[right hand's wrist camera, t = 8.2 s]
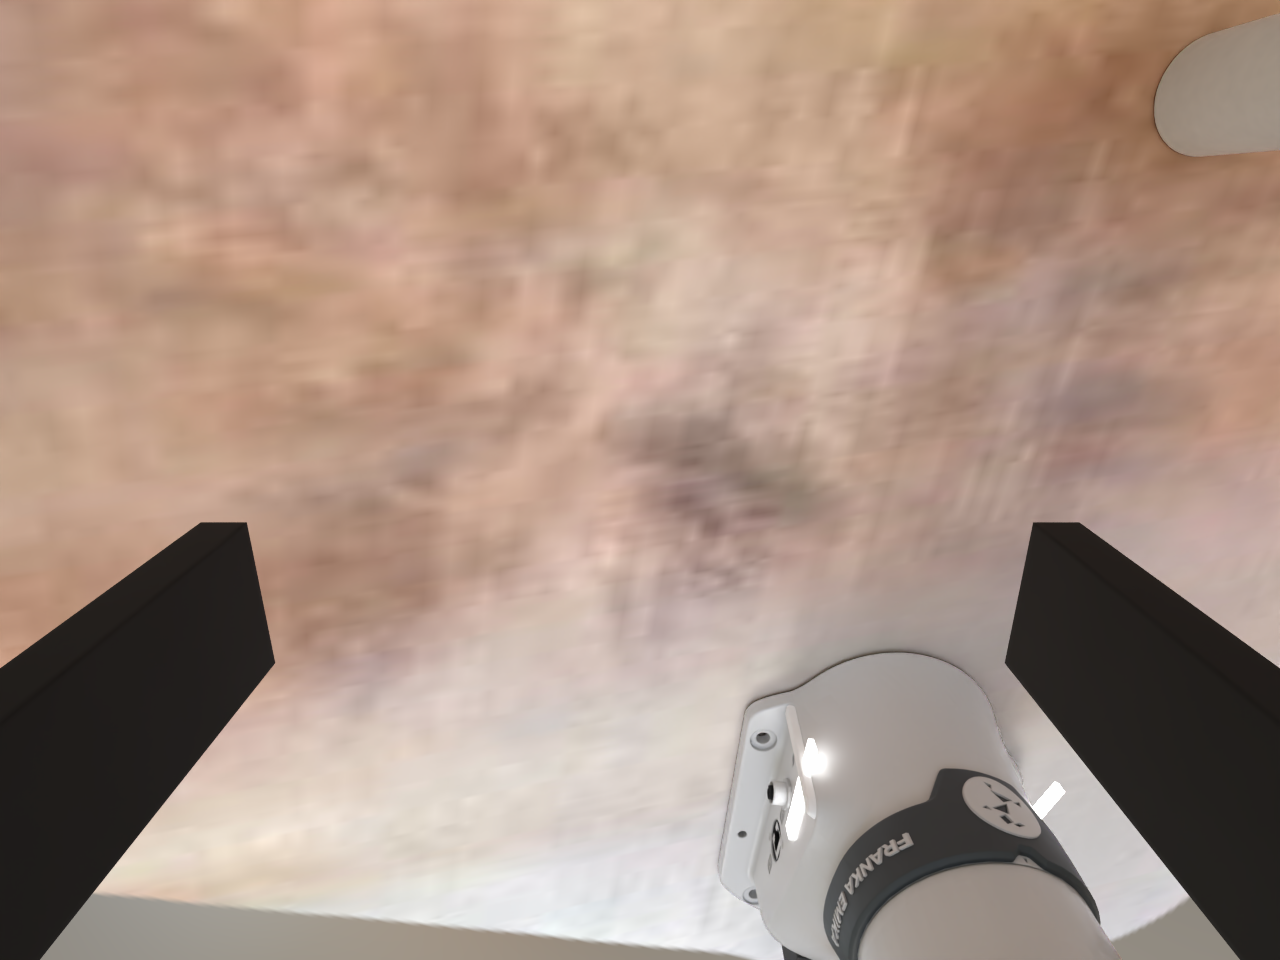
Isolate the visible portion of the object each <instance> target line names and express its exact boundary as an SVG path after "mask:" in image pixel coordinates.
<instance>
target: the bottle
mask: <svg viewBox="0 0 1280 960" xmlns="http://www.w3.org/2000/svg"><path fill="white" fill-rule="evenodd" d="M1154 117H1155V123H1156V127H1157V130H1158V132H1159V134H1160V136H1161V138H1162V139H1163V140H1164V142H1165V143H1166V144H1167V145H1168V146H1169V147H1170V148H1172V149H1173V150H1174V151H1176V152H1178V153H1180V154H1183V155H1186V156H1192V157H1204V156H1216V155H1228V154H1240V153H1252V152H1265V151H1277V150H1280V13H1278V14H1274V15H1271V16H1268V17H1264V18H1261V19H1257V20H1254V21H1251V22H1247V23H1244V24H1241V25H1237V26H1234V27H1231V28H1227V29H1224V30H1220V31H1217V32H1214V33H1210V34H1208V35H1205V36H1203V37H1201V38H1199V39H1197V40H1195V41H1194V42H1192V43H1191V44H1189V45H1188V46H1187V47H1186V48H1184V49H1183V50H1182V51H1181V52H1180V53H1179V54H1178V55H1177V56H1176V57H1175V59H1174V60H1173V61H1172V62H1171V64H1170V65H1169V66H1168V68H1167V69H1166V71H1165V73H1164V75H1163V77H1162V79H1161V81H1160V83H1159V86H1158V89H1157V92H1156V97H1155V103H1154Z"/></svg>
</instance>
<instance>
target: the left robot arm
mask: <svg viewBox="0 0 1280 960" xmlns="http://www.w3.org/2000/svg"><path fill="white" fill-rule="evenodd" d="M760 733H767V734H766V735H764V736H758V734H760ZM1022 785H1023V778H1022V775H1021V773H1020V771H1019V769H1018V767H1017V765H1016V763H1015V761H1014V760H1013V759H1012V757H1011V756H1010V755H1009V753H1008V752H1007V751H1006V748H1005V746H1004V743H1003V741H1002V738H1001V735H1000V732H999V729H998V726H997V723H996V719H995V716H994V712H993V709H992V706H991V704H990V702H989V700H988V698H987V696H986V695H985V693H984V692H983V690H982V689H981V688H980V686H979V685H978V684H977V683H976V682H975V681H974V680H973V679H972V678H971V677H969V676H968V675H967V674H966V673H964V672H963V671H961V670H960V669H958V668H957V667H955V666H953V665H951V664H949V663H947V662H944V661H942V660H939V659H936V658H933V657H929V656H925V655H920V654H914V653H899V652H894V653H879V654H873V655H868V656H863V657H859V658H856V659H852V660H849V661H847V662H844V663H841V664H839V665H837V666H835V667H833V668H831V669H829V670H827V671H825V672H823V673H822V674H820V675H818V676H817V677H815V678H814V679H812V680H811V681H809V682H808V683H806V684H805V685H803V686H801V687H799V688H797V689H795V690H793V691H790V692H785V693H781V694H777V695H773V696H769V697H766V698H763V699H760V700H758V701H755V702H754V703H752V704H751V705H750V706H749V707H748V708H747V710H746V712H745V715H744V720H743V725H742V731H741V737H740V742H739V748H738V754H737V759H736V765H735V771H734V776H733V782H732V788H731V793H730V799H729V805H728V811H727V816H726V822H725V828H724V833H723V839H722V845H721V850H720V856H719V862H718V874H719V878H720V882H721V884H722V885H723V886H724V887H725V888H726V889H727V890H728V891H729V892H730V893H732V894H733V895H734V896H736V897H737V898H739V899H740V900H742V901H743V902H745V903H747V904H749V905H751V906H753V907H755V908H757V909H760V912H761V916H762V920H763V922H764V925H765V927H766V928H767V930H768V932H769V933H770V934H771V935H772V936H773V937H774V939H775V940H777V941H778V942H779V943H780V944H781V945H782V949H783V955H784V960H1122V959H1121V957H1120V956H1119V954H1118V952H1117V951H1116V949H1115V948H1114V946H1113V945H1112V943H1111V941H1110V940H1109V938H1108V937H1107V935H1106V934H1105V932H1104V931H1103V929H1102V927H1101V926H1100V917H1099V911H1098V908H1097V906H1096V903H1095V900H1094V899H1093V897H1092V895H1091V893H1090V892H1089V890H1088V888H1087V887H1086V885H1085V883H1084V882H1083V880H1082V878H1081V876H1080V875H1079V873H1078V872H1077V870H1076V868H1075V867H1074V865H1073V863H1072V862H1071V860H1070V859H1069V857H1068V855H1067V854H1066V852H1065V851H1064V849H1063V848H1062V846H1061V845H1060V843H1059V842H1058V840H1057V838H1056V837H1055V836H1054V834H1053V833H1052V832H1051V830H1050V829H1049V828H1048V827H1047V825H1046V824H1045V823H1044V822H1043V820H1042V818H1043V817H1044V816H1045V815H1046V813H1047V812H1048V811H1049V810H1050V809H1051V808H1052V807H1053V805H1054V804H1055V803H1056V802H1057V801H1058V800H1059V798H1060V797H1061V796H1062V795H1063V794H1064V793H1065V791H1064V790H1063V788H1062V787H1061V786H1060V784H1059V783H1057V782H1054V783H1053V784H1052V785H1051V786H1050V788H1049V789H1048V790H1047V791H1046V792H1045V793H1044V795H1043V796H1042V797H1041V798H1040V799H1039V800H1038V802H1037V803H1036V804H1035V805H1034V806H1033V807H1032V805H1031V803H1030V801H1029V799H1028V797H1027V795H1026V793H1025V790H1024V788H1023V786H1022Z"/></svg>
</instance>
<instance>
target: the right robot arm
mask: <svg viewBox="0 0 1280 960" xmlns="http://www.w3.org/2000/svg"><path fill="white" fill-rule="evenodd" d="M274 664H275V660H274V655H273V650H272V645H271V640H270V635H269V630H268V625H267V620H266V615H265V610H264V605H263V601H262V596H261V591H260V586H259V581H258V576H257V571H256V566H255V561H254V556H253V551H252V546H251V541H250V536H249V532H248V527H247V522H245V523H242V522H231V523H230V522H229V523H227V522H214V523H212V522H201V523H199V524H198V525H197V526H195V527H194V528H193V529H191V530H190V531H188V532H187V533H186V534H184V535H183V536H182V537H180V538H179V539H177V540H176V541H175V542H173V543H172V544H171V545H169V546H168V547H166V548H165V549H164V550H162V551H161V552H160V553H158V554H157V555H155V556H154V557H153V558H151V559H150V560H149V561H147V562H146V563H144V564H143V565H142V566H140V567H139V568H138V569H136V570H135V571H133V572H132V573H131V574H129V575H128V576H127V577H125V578H124V579H122V580H121V581H120V582H118V583H117V584H116V585H114V586H113V587H111V588H110V589H109V590H107V591H106V592H105V593H103V594H102V595H100V596H99V597H98V598H96V599H95V600H94V601H92V602H91V603H89V604H88V605H87V606H85V607H84V608H83V609H81V610H80V611H78V612H77V613H76V614H74V615H73V616H72V617H70V618H69V619H67V620H66V621H65V622H63V623H62V624H61V625H59V626H58V627H56V628H55V629H54V630H52V631H51V632H50V633H48V634H47V635H45V636H44V637H43V638H41V639H40V640H39V641H37V642H36V643H34V644H33V645H32V646H30V647H29V648H28V649H26V650H25V651H23V652H22V653H21V654H19V655H18V656H17V657H15V658H14V659H12V660H11V661H10V662H8V663H7V664H6V665H4V666H3V667H1V668H0V960H40V959H41V958H42V956H43V955H44V954H45V953H46V951H47V950H48V949H49V947H50V946H51V945H52V944H53V942H54V941H55V940H56V939H57V937H58V936H59V935H60V934H61V932H62V931H63V930H64V929H65V927H66V926H67V925H68V924H69V922H70V921H71V920H72V919H73V917H74V916H75V915H76V913H77V912H78V911H79V910H80V908H81V907H82V906H83V905H84V903H85V902H86V901H87V900H88V898H89V897H90V896H91V895H92V893H93V892H94V891H95V890H96V888H97V887H98V886H99V884H100V883H101V882H102V881H103V879H104V878H105V877H106V876H107V874H108V873H109V872H110V871H111V869H112V868H113V867H114V866H115V864H116V863H117V862H118V861H119V859H120V858H121V857H122V855H123V854H124V853H125V852H126V850H127V849H128V848H129V847H130V845H131V844H132V843H133V842H134V840H135V839H136V838H137V837H138V835H139V834H140V833H141V832H142V830H143V829H144V828H145V826H146V825H147V824H148V823H149V821H150V820H151V819H152V818H153V816H154V815H155V814H156V813H157V811H158V810H159V809H160V808H161V806H162V805H163V804H164V803H165V801H166V800H167V799H168V797H169V796H170V795H171V794H172V792H173V791H174V790H175V789H176V787H177V786H178V785H179V784H180V782H181V781H182V780H183V779H184V777H185V776H186V775H187V774H188V772H189V771H190V770H191V768H192V767H193V766H194V765H195V763H196V762H197V761H198V760H199V758H200V757H201V756H202V755H203V753H204V752H205V751H206V750H207V748H208V747H209V746H210V745H211V743H212V742H213V741H214V739H215V738H216V737H217V736H218V734H219V733H220V732H221V731H222V729H223V728H224V727H225V726H226V724H227V723H228V722H229V721H230V719H231V718H232V717H233V716H234V714H235V713H236V712H237V710H238V709H239V708H240V707H241V705H242V704H243V703H244V702H245V700H246V699H247V698H248V697H249V695H250V694H251V693H252V692H253V690H254V689H255V688H256V687H257V685H258V684H259V683H260V681H261V680H262V679H263V678H264V676H265V675H266V674H267V673H268V671H269V670H270V669H271V668H272V666H273V665H274ZM1005 664H1006V665H1007V666H1008V668H1009V669H1010V670H1011V671H1012V673H1013V674H1014V675H1015V676H1016V678H1017V679H1018V680H1019V681H1020V683H1021V684H1022V685H1023V687H1024V688H1025V689H1026V690H1027V692H1028V693H1029V694H1030V695H1031V697H1032V698H1033V699H1034V700H1035V702H1036V703H1037V704H1038V705H1039V707H1040V708H1041V709H1042V710H1043V712H1044V713H1045V714H1046V716H1047V717H1048V718H1049V719H1050V721H1051V722H1052V723H1053V724H1054V726H1055V727H1056V728H1057V729H1058V731H1059V732H1060V733H1061V734H1062V736H1063V737H1064V738H1065V739H1066V741H1067V742H1068V743H1069V745H1070V746H1071V747H1072V748H1073V750H1074V751H1075V752H1076V753H1077V755H1078V756H1079V757H1080V758H1081V760H1082V761H1083V762H1084V763H1085V765H1086V766H1087V767H1088V768H1089V770H1090V771H1091V772H1092V774H1093V775H1094V776H1095V777H1096V779H1097V780H1098V781H1099V782H1100V784H1101V785H1102V786H1103V787H1104V789H1105V790H1106V791H1107V792H1108V794H1109V795H1110V796H1111V797H1112V799H1113V800H1114V801H1115V803H1116V804H1117V805H1118V806H1119V808H1120V809H1121V810H1122V811H1123V813H1124V814H1125V815H1126V816H1127V818H1128V819H1129V820H1130V821H1131V823H1132V824H1133V825H1134V826H1135V828H1136V829H1137V830H1138V832H1139V833H1140V834H1141V835H1142V837H1143V838H1144V839H1145V840H1146V842H1147V843H1148V844H1149V845H1150V847H1151V848H1152V849H1153V850H1154V852H1155V853H1156V854H1157V855H1158V857H1159V858H1160V859H1161V861H1162V862H1163V863H1164V864H1165V866H1166V867H1167V868H1168V869H1169V871H1170V872H1171V873H1172V874H1173V876H1174V877H1175V878H1176V879H1177V881H1178V882H1179V883H1180V884H1181V886H1182V887H1183V888H1184V890H1185V891H1186V892H1187V893H1188V895H1189V896H1190V897H1191V898H1192V900H1193V901H1194V902H1195V903H1196V905H1197V906H1198V907H1199V908H1200V910H1201V911H1202V912H1203V913H1204V915H1205V916H1206V917H1207V919H1208V920H1209V921H1210V922H1211V924H1212V925H1213V926H1214V927H1215V929H1216V930H1217V931H1218V932H1219V934H1220V935H1221V936H1222V937H1223V939H1224V940H1225V941H1226V942H1227V944H1228V945H1229V946H1230V948H1231V949H1232V950H1233V951H1234V953H1235V954H1236V955H1237V956H1238V958H1239V959H1240V960H1280V668H1279V667H1277V666H1276V665H1274V664H1273V663H1272V662H1270V661H1269V660H1268V659H1266V658H1265V657H1263V656H1262V655H1261V654H1259V653H1258V652H1257V651H1255V650H1254V649H1252V648H1251V647H1250V646H1248V645H1247V644H1246V643H1244V642H1243V641H1241V640H1240V639H1239V638H1237V637H1236V636H1235V635H1233V634H1232V633H1230V632H1229V631H1228V630H1226V629H1225V628H1224V627H1222V626H1221V625H1219V624H1218V623H1217V622H1215V621H1214V620H1213V619H1211V618H1210V617H1208V616H1207V615H1206V614H1204V613H1203V612H1202V611H1200V610H1199V609H1197V608H1196V607H1195V606H1193V605H1192V604H1191V603H1189V602H1188V601H1186V600H1185V599H1184V598H1182V597H1181V596H1180V595H1178V594H1177V593H1175V592H1174V591H1173V590H1171V589H1170V588H1169V587H1167V586H1166V585H1164V584H1163V583H1162V582H1160V581H1159V580H1158V579H1156V578H1155V577H1153V576H1152V575H1151V574H1149V573H1148V572H1147V571H1145V570H1144V569H1142V568H1141V567H1140V566H1138V565H1137V564H1136V563H1134V562H1133V561H1131V560H1130V559H1129V558H1127V557H1126V556H1125V555H1123V554H1122V553H1120V552H1119V551H1118V550H1116V549H1115V548H1114V547H1112V546H1111V545H1109V544H1108V543H1107V542H1105V541H1104V540H1103V539H1101V538H1100V537H1098V536H1097V535H1096V534H1094V533H1093V532H1092V531H1090V530H1089V529H1087V528H1086V527H1085V526H1083V525H1082V524H1081V523H1078V522H1075V523H1073V522H1068V523H1062V522H1053V523H1047V522H1037V523H1034V522H1033V527H1032V532H1031V536H1030V541H1029V546H1028V551H1027V556H1026V561H1025V566H1024V571H1023V576H1022V581H1021V586H1020V591H1019V596H1018V601H1017V605H1016V610H1015V615H1014V620H1013V625H1012V630H1011V635H1010V640H1009V645H1008V650H1007V655H1006V660H1005Z"/></svg>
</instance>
